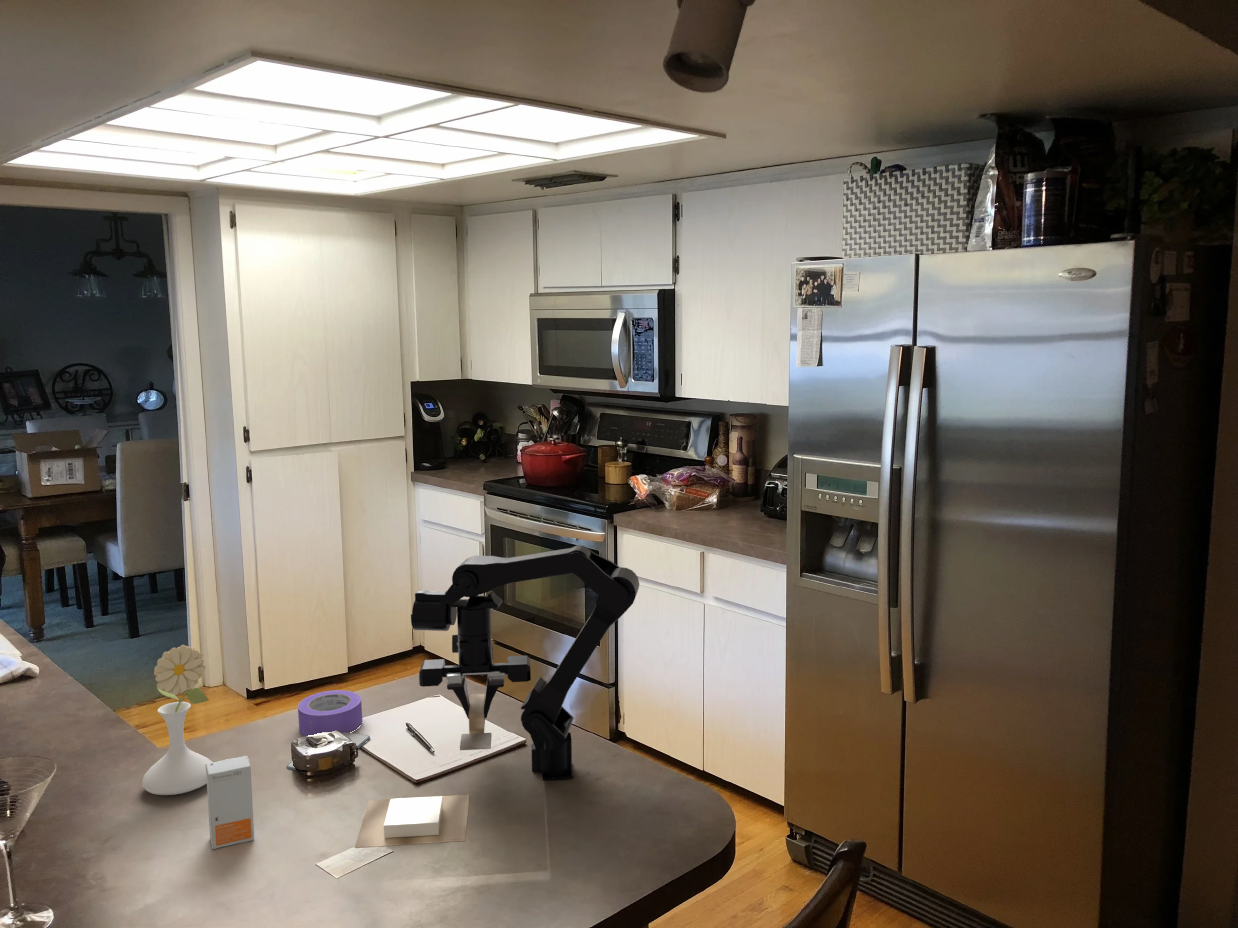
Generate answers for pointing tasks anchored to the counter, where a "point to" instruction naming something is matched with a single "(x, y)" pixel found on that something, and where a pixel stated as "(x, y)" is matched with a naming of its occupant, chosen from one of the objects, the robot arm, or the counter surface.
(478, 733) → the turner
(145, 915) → the counter surface
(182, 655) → the flower in vase
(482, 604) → the robot arm
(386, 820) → the tile
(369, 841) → the tan flat board
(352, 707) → the tape roll
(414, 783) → the counter surface
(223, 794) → the skincare box
